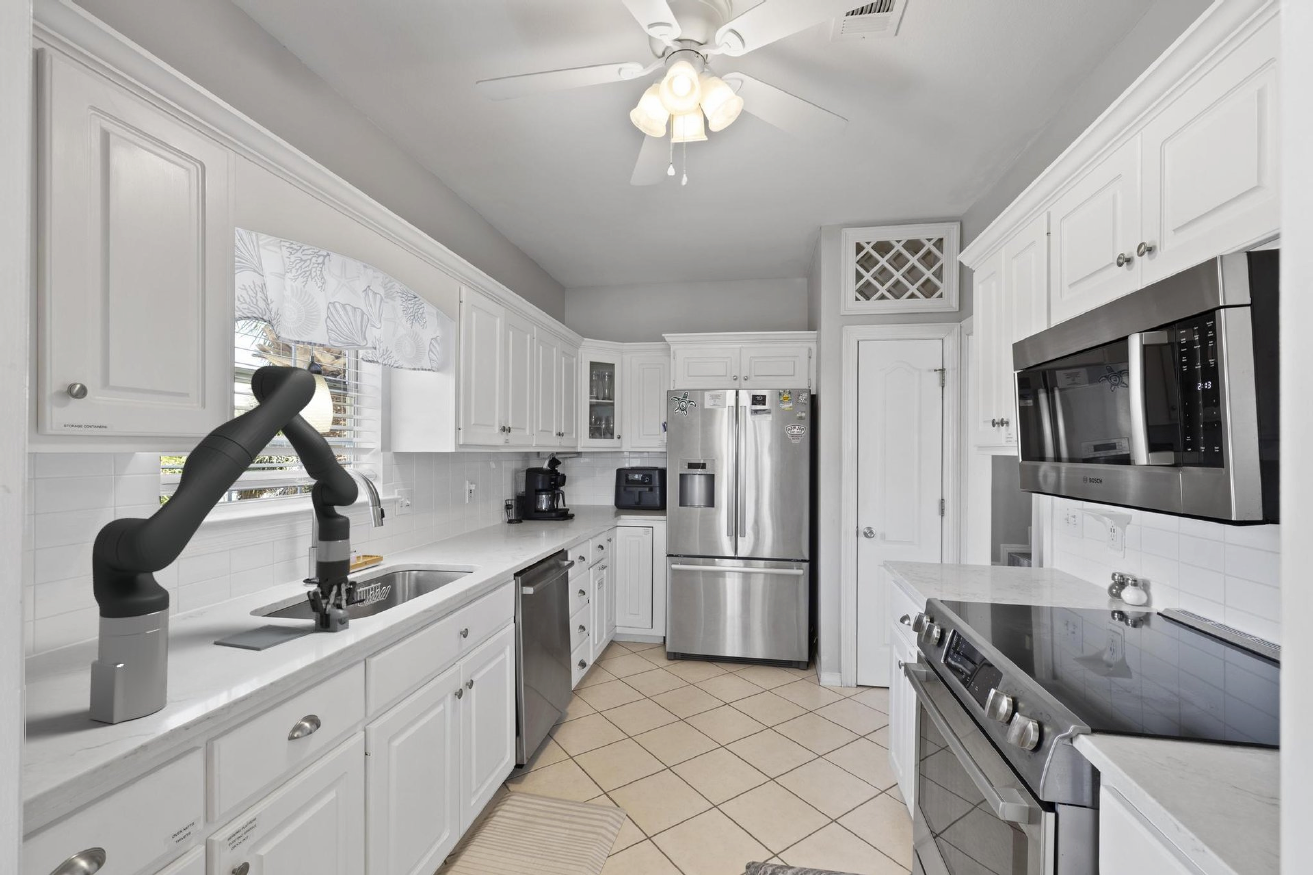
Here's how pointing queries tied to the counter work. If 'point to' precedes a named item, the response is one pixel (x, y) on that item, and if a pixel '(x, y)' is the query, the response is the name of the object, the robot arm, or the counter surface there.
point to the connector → (334, 620)
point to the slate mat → (263, 637)
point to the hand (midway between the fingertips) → (332, 625)
